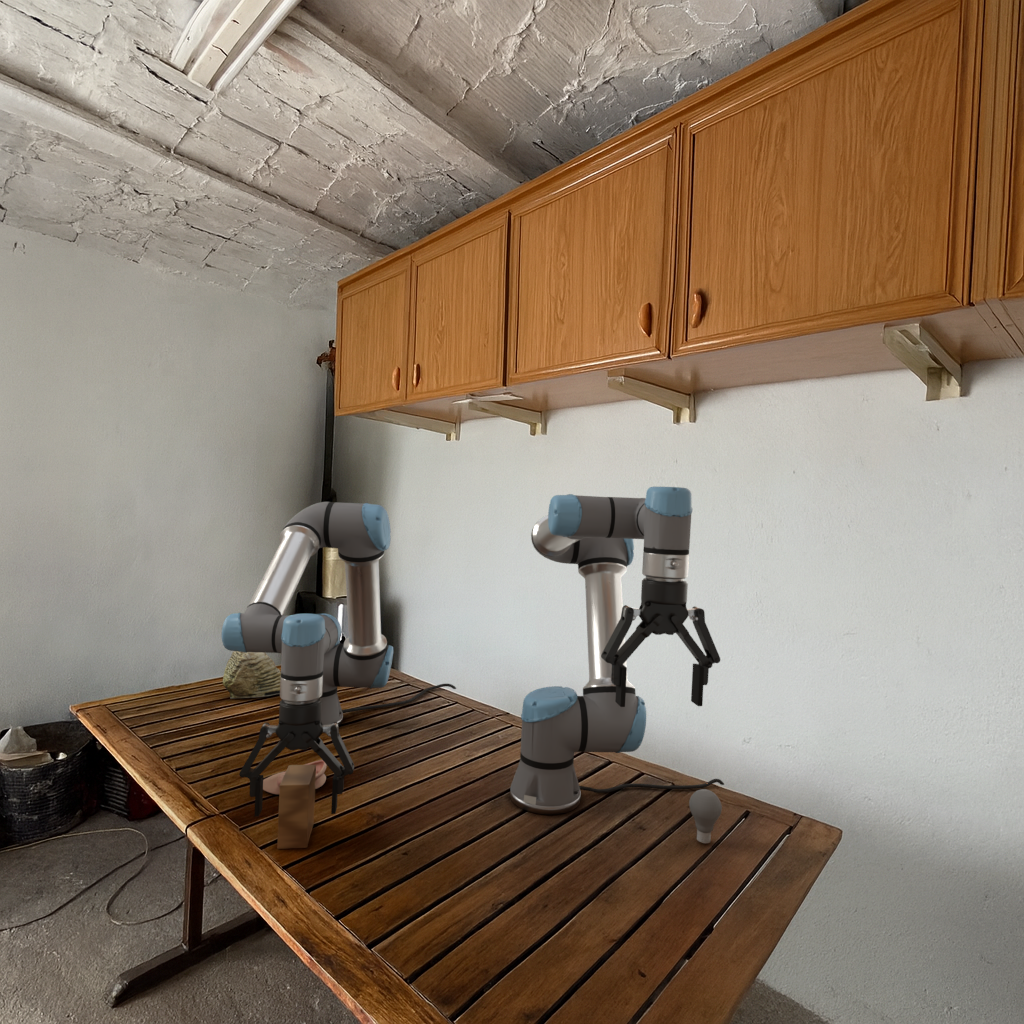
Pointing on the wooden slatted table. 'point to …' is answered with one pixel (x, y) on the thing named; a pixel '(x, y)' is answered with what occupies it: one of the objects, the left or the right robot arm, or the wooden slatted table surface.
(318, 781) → the anatomical model
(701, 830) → the light bulb
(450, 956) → the wooden slatted table surface
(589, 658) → the right robot arm
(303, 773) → the brick
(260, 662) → the fossil
